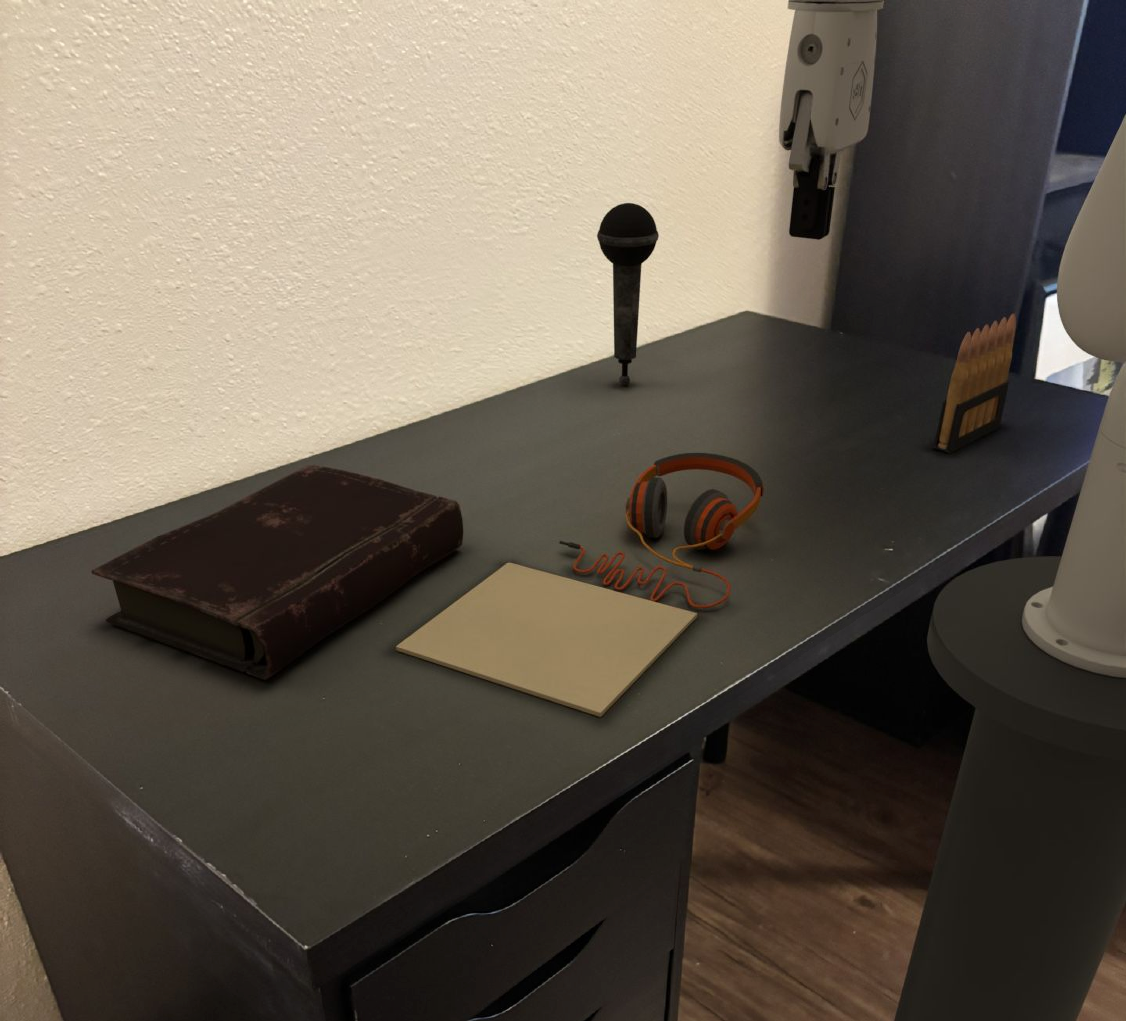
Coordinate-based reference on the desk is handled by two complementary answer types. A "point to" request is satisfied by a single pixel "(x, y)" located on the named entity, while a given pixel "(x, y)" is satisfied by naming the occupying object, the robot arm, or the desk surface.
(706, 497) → the headphones
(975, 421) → the ammunition clip
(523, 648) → the flat square board
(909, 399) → the desk surface
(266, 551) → the diary
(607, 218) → the microphone
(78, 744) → the desk surface
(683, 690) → the desk surface
